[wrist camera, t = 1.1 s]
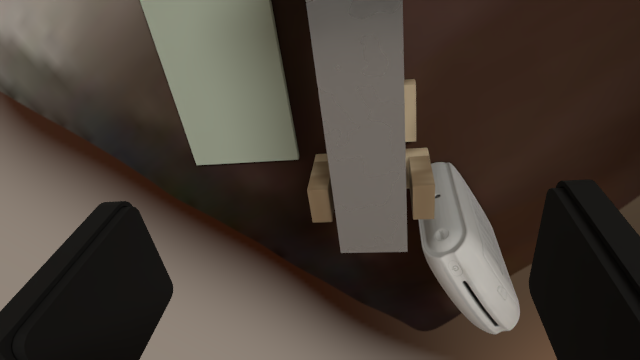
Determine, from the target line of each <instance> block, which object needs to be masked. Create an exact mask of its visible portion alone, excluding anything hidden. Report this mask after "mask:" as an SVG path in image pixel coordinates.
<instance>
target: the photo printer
mask: <svg viewBox="0 0 640 360" xmlns="http://www.w3.org/2000/svg"><path fill="white" fill-rule="evenodd" d="M431 167H432V172H433V177H434V182H435V211H434V219H418V221H419V229H420V236H421V243H422V249H423V252H424V255H425V258H426V260H427V263H428V265H429V266H430V268H431V270H432V272H433V273H434V275H435V277H436V278H437V280H438V282H439V283H440V285H441V286H442V288H443V289H444V291H445V292H446V293H447V295H448V296H449V297H450V299H451V300H452V301H453V303H454V304H455V305H456V307H457V308H458V309H459V310H460V311H461V312H462V313H463V314H464V316H465V317H466V318H467V319H468V320H469V321H470V322H472V323H473V324H474V325H475V326H477V327H478V328H480V329H481V330H483V331H485V332H488V333H490V334H498V333H499V332H502V331H510V330H512V329H513V328H514V327H515V325H516V324H517V322H518V320H519V316H520V306H519V301H518V298H517V295H516V293H515V290H514V287H513V285H512V282H511V279H510V277H509V274H508V271H507V268H506V265H505V263H504V260H503V257H502V254H501V251H500V248H499V246H498V243H497V240H496V237H495V234H494V231H493V228H492V226H491V224H490V222H489V220H488V218H487V217H486V215H485V213H484V211H483V210H482V208H481V206H480V205H479V203H478V201H477V200H476V198H475V197H474V195H473V193H472V192H471V190H470V189H469V187H468V185H467V184H466V182H465V181H464V179H463V178H462V176H461V175H460V174H459V172H458V171H457V170H456V168H455V167H454V166H453V165H452V164H451V163H449V162H448V163H444V162H437V163H433V164H431Z"/></svg>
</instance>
